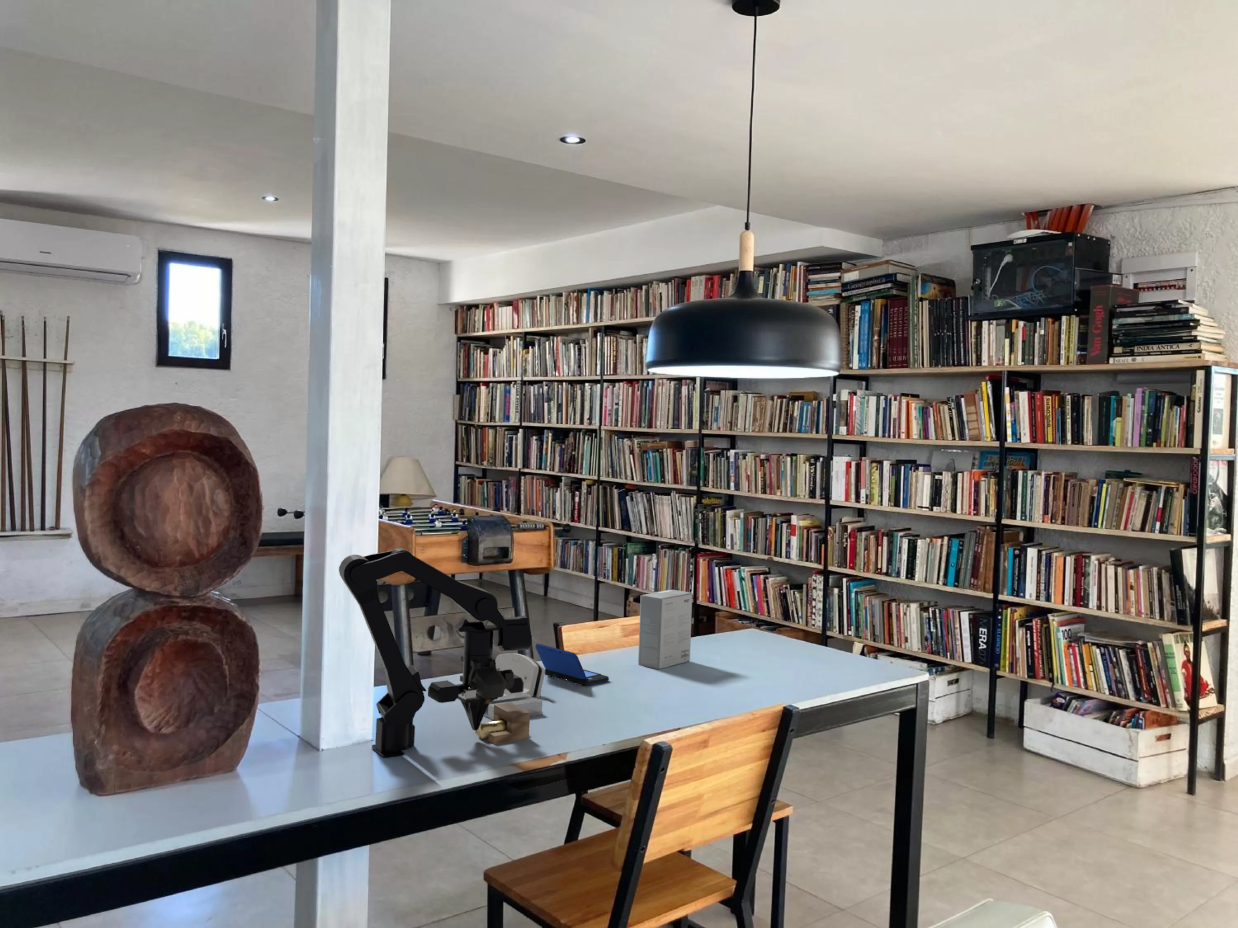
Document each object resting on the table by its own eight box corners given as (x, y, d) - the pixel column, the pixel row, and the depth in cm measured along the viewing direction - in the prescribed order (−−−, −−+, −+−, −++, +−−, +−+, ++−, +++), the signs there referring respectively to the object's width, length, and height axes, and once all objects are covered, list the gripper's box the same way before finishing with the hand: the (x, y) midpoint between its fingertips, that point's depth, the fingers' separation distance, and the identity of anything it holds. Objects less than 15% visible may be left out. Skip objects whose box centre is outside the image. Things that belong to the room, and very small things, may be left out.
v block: (494, 724, 198) (495, 707, 198) (477, 714, 204) (478, 698, 204) (542, 717, 205) (543, 701, 205) (524, 708, 211) (525, 692, 211)
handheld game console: (611, 682, 239) (612, 646, 239) (574, 690, 229) (576, 653, 229) (569, 670, 250) (570, 636, 250) (532, 677, 240) (533, 642, 240)
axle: (483, 740, 184) (484, 725, 184) (476, 736, 187) (477, 721, 187) (526, 733, 190) (527, 719, 190) (519, 729, 193) (520, 715, 193)
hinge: (481, 685, 229) (493, 646, 231) (495, 689, 232) (507, 650, 234) (524, 700, 217) (537, 659, 219) (538, 704, 220) (550, 663, 223)
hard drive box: (669, 656, 271) (672, 589, 271) (690, 661, 266) (694, 592, 266) (636, 664, 259) (640, 593, 259) (658, 669, 254) (662, 597, 254)
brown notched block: (493, 747, 183) (495, 717, 183) (475, 735, 190) (476, 706, 189) (528, 741, 188) (530, 712, 188) (509, 730, 194) (511, 702, 194)
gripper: (452, 666, 173) (449, 748, 173) (539, 656, 183) (535, 734, 184) (428, 653, 182) (425, 732, 182) (511, 644, 192) (508, 719, 193)
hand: (475, 729), depth 185 cm, fingers closed
